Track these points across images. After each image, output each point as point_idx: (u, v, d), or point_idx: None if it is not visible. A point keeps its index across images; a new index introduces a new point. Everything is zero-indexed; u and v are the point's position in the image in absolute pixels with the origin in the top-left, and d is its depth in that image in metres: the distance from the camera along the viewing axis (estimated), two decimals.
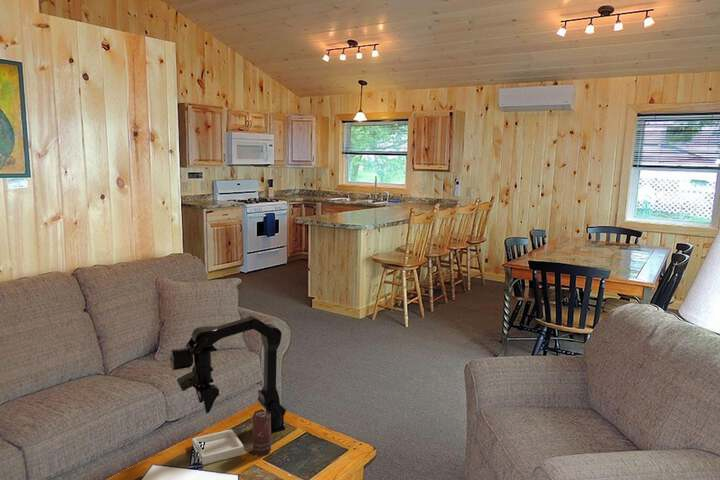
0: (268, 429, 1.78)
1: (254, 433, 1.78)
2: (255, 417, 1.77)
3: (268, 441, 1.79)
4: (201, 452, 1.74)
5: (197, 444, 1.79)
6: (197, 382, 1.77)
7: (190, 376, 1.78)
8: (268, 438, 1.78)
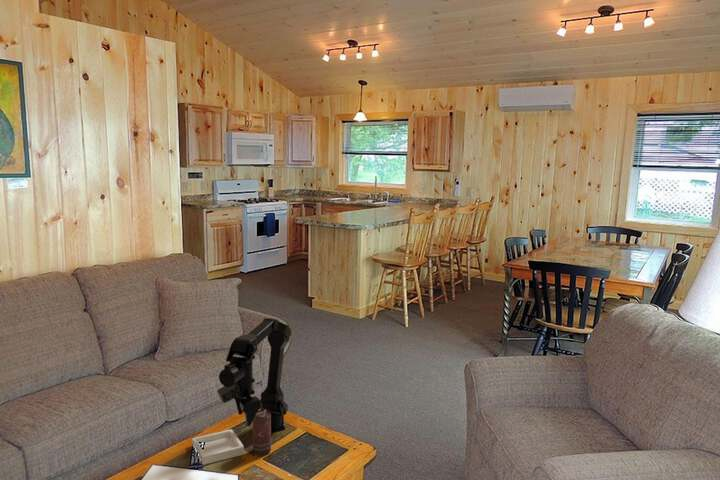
0: (268, 429, 1.78)
1: (254, 433, 1.78)
2: (255, 417, 1.77)
3: (268, 441, 1.79)
4: (201, 452, 1.74)
5: (197, 444, 1.79)
6: (238, 394, 1.71)
7: (231, 387, 1.71)
8: (268, 438, 1.78)
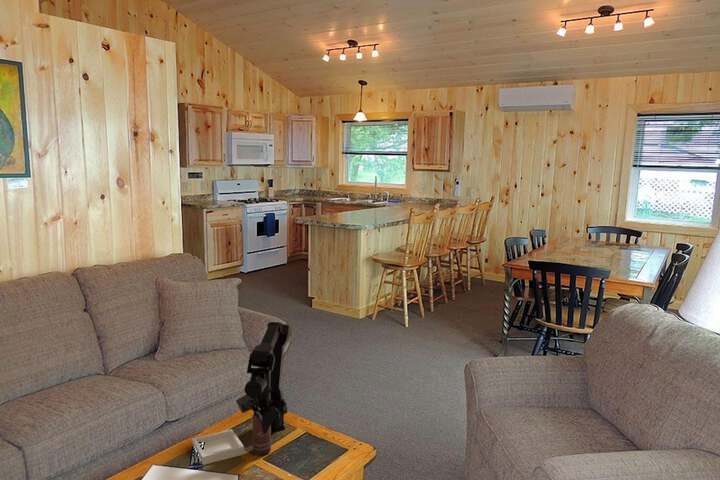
0: (268, 429, 1.78)
1: (254, 433, 1.78)
2: (255, 417, 1.77)
3: (268, 441, 1.79)
4: (201, 452, 1.74)
5: (197, 444, 1.79)
6: (257, 404, 1.75)
7: (250, 398, 1.75)
8: (268, 438, 1.78)
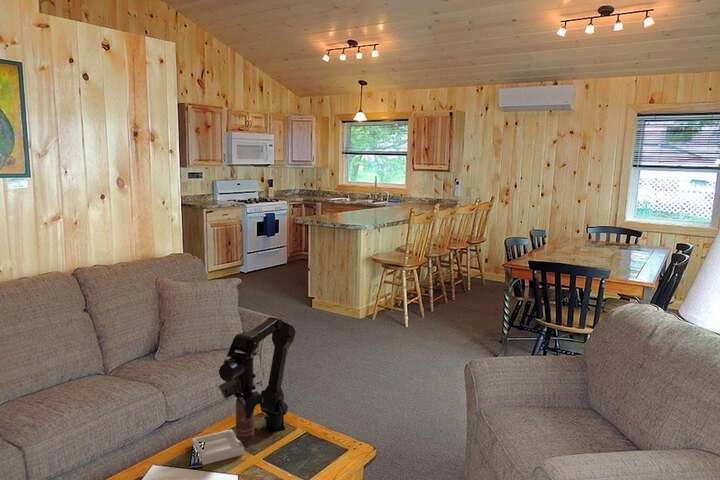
0: None
1: (237, 419, 1.77)
2: (238, 402, 1.76)
3: (251, 426, 1.78)
4: (201, 452, 1.74)
5: (197, 444, 1.79)
6: (240, 389, 1.74)
7: (233, 383, 1.74)
8: (251, 423, 1.78)
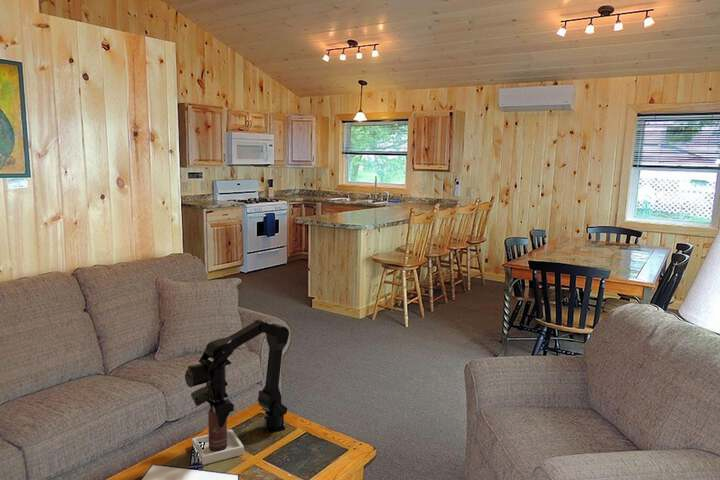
0: (223, 425, 1.78)
1: (209, 429, 1.78)
2: (210, 413, 1.77)
3: (223, 437, 1.79)
4: (201, 452, 1.74)
5: (197, 444, 1.79)
6: (211, 397, 1.75)
7: (204, 391, 1.75)
8: (223, 434, 1.79)
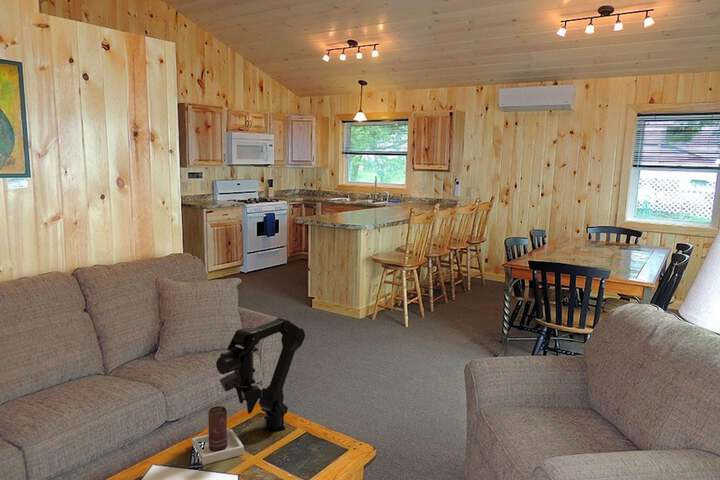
0: (223, 425, 1.78)
1: (209, 429, 1.78)
2: (210, 413, 1.77)
3: (224, 437, 1.79)
4: (201, 452, 1.74)
5: (197, 444, 1.79)
6: (240, 383, 1.80)
7: (233, 377, 1.80)
8: (223, 434, 1.79)
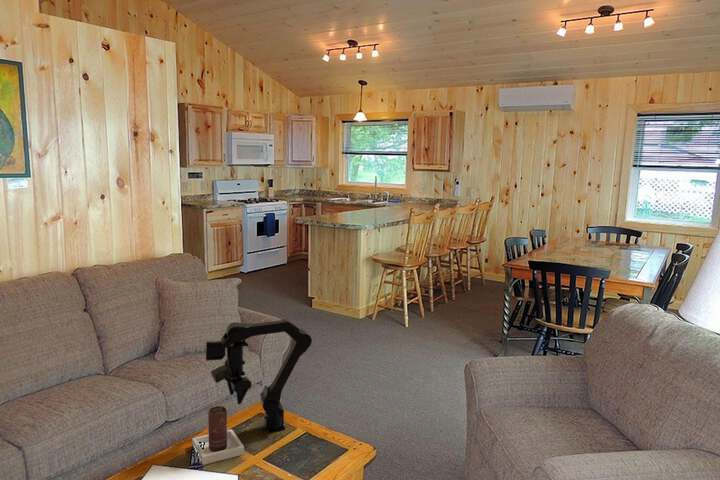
0: (223, 425, 1.78)
1: (209, 429, 1.78)
2: (210, 413, 1.77)
3: (224, 437, 1.79)
4: (201, 452, 1.74)
5: (197, 444, 1.79)
6: (230, 374, 1.87)
7: (223, 369, 1.87)
8: (223, 434, 1.79)
